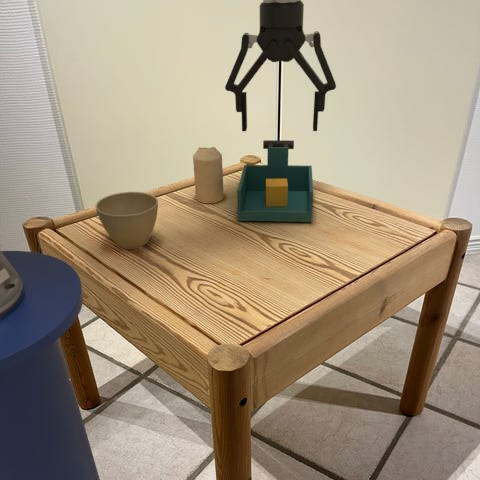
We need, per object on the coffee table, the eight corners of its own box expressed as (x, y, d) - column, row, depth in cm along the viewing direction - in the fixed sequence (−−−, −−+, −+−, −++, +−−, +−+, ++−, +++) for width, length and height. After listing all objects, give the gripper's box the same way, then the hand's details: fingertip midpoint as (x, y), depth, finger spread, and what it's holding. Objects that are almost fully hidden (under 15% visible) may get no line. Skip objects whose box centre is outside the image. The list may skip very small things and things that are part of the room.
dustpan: (246, 185, 107) (245, 139, 102) (309, 186, 106) (312, 139, 101) (237, 220, 93) (236, 168, 87) (311, 221, 92) (314, 169, 86)
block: (266, 206, 96) (266, 186, 94) (265, 198, 99) (265, 178, 97) (287, 206, 96) (288, 185, 94) (286, 198, 99) (286, 178, 97)
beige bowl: (118, 262, 82) (111, 220, 78) (93, 240, 88) (85, 200, 84) (173, 244, 86) (168, 204, 82) (145, 224, 93) (140, 186, 89)
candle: (223, 192, 105) (221, 142, 99) (224, 203, 100) (222, 151, 94) (196, 193, 105) (192, 144, 99) (196, 204, 100) (192, 153, 94)
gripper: (354, -4, 89) (343, 123, 101) (211, 0, 91) (218, 124, 103) (358, 0, 83) (346, 134, 95) (205, 4, 85) (213, 135, 97)
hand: (279, 129), depth 99 cm, fingers open, 13 cm apart
